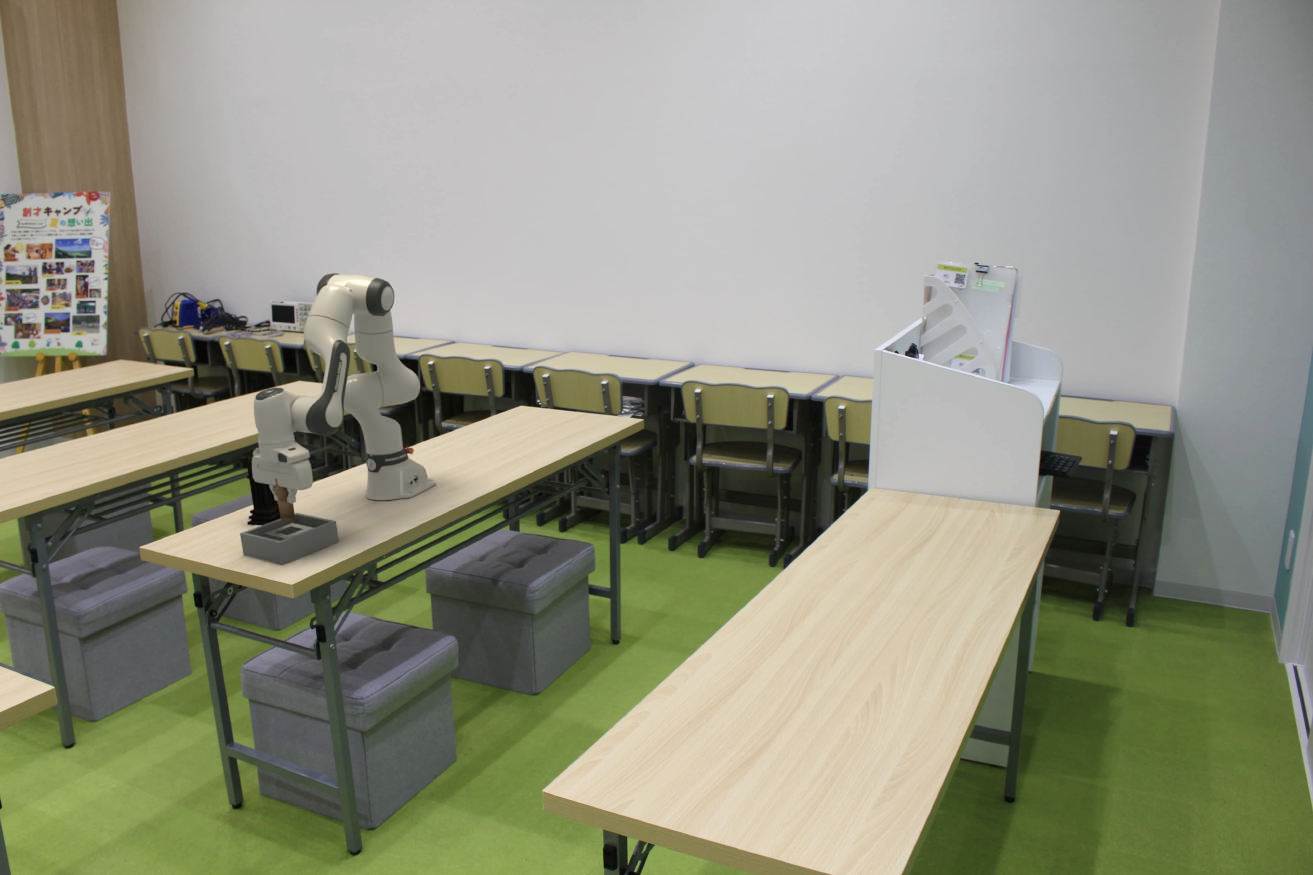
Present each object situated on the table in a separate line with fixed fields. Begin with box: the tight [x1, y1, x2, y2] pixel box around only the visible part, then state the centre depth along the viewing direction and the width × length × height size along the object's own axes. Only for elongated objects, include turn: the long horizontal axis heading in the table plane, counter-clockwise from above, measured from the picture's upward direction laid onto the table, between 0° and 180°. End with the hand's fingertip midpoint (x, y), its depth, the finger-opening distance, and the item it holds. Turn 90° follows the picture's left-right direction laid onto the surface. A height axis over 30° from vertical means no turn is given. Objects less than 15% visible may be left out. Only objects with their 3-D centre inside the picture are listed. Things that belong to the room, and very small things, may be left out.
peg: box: [275, 478, 296, 522], centre depth 247 cm, size 4×4×12 cm
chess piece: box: [239, 451, 281, 526], centre depth 272 cm, size 8×8×20 cm
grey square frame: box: [264, 523, 313, 541], centre depth 250 cm, size 9×9×4 cm
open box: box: [239, 512, 340, 566], centre depth 250 cm, size 18×16×6 cm
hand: (285, 501), depth 248 cm, fingers closed on peg, 4 cm apart
